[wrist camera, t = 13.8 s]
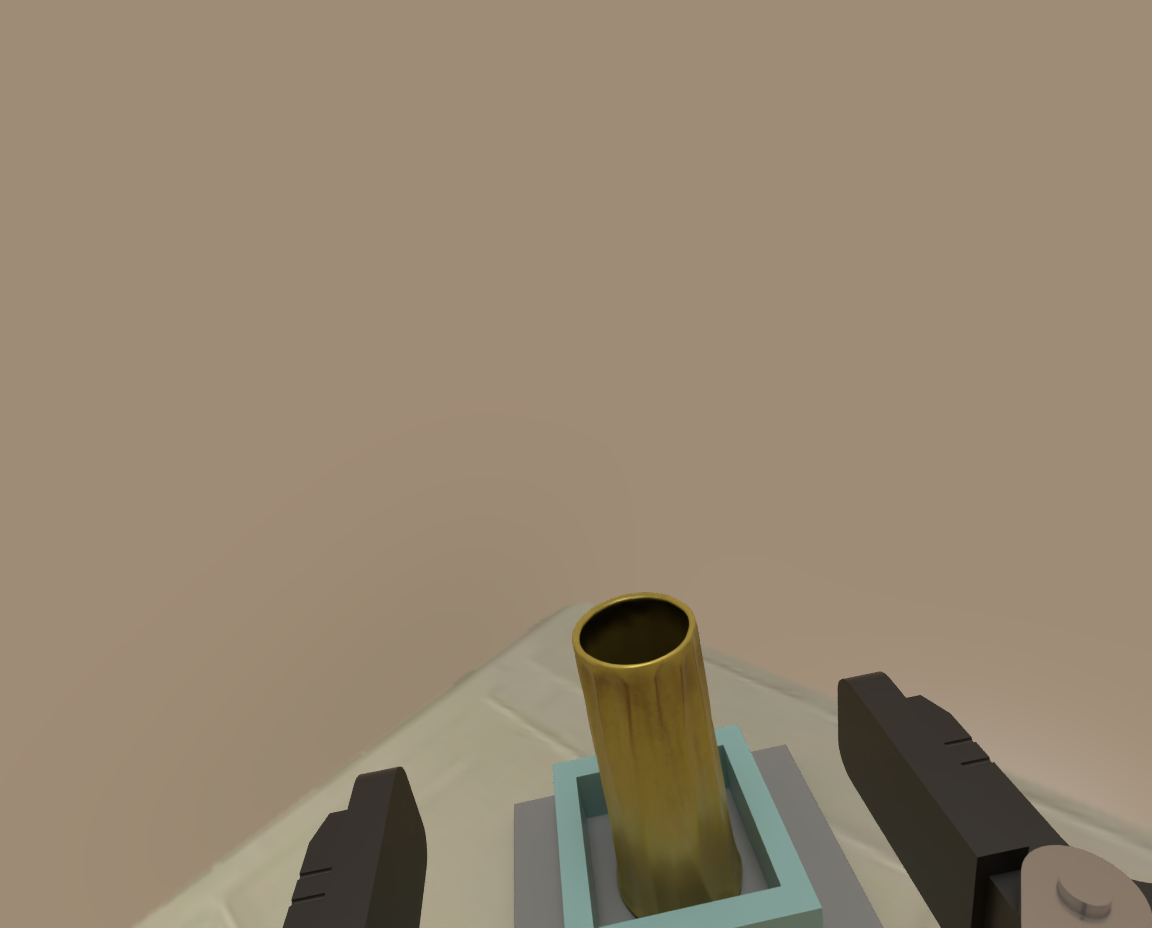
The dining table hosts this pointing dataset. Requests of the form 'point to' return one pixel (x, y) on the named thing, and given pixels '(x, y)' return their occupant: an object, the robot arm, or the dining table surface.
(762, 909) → the dock
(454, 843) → the dining table surface
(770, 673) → the dining table surface
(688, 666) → the vase
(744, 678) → the dining table surface
